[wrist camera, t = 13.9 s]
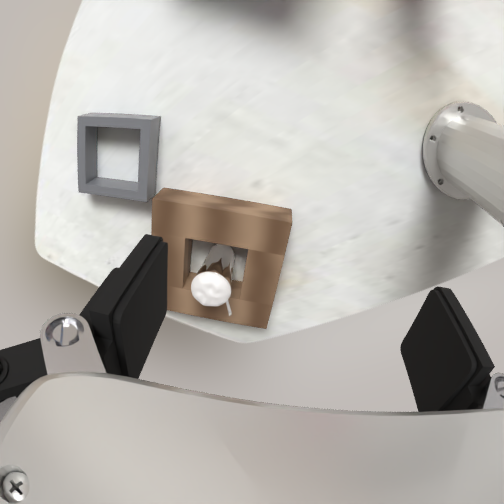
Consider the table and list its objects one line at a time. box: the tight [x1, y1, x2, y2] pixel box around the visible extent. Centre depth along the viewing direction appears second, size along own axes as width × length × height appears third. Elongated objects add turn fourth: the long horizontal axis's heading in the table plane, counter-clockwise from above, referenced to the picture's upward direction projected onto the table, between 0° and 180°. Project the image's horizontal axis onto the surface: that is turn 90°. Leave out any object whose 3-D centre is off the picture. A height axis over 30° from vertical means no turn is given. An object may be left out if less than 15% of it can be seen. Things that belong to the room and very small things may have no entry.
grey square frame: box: [77, 113, 161, 202], centre depth 36 cm, size 10×10×3 cm
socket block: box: [152, 188, 292, 329], centre depth 41 cm, size 16×16×4 cm
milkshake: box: [191, 244, 235, 316], centre depth 39 cm, size 4×5×10 cm
